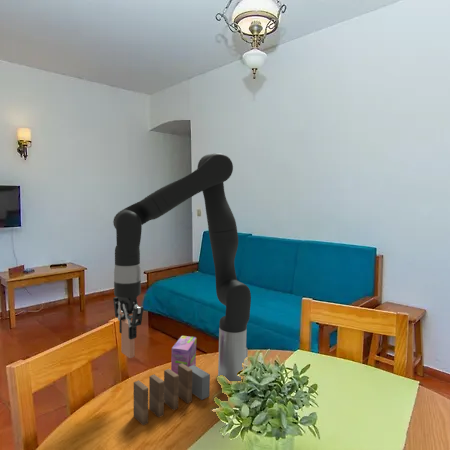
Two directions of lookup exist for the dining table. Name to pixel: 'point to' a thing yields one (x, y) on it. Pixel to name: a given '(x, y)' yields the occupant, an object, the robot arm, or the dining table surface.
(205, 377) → the block
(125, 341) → the domino end
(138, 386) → the domino
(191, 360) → the box
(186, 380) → the domino
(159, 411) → the domino
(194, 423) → the dining table surface
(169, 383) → the domino
